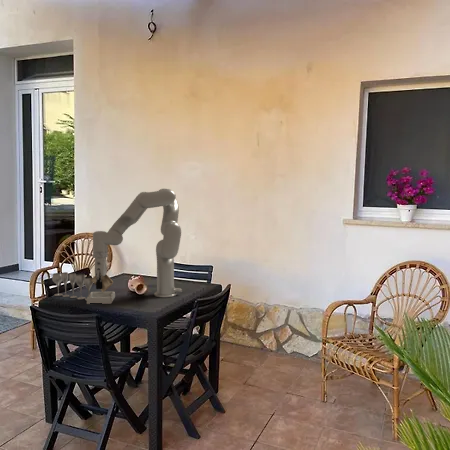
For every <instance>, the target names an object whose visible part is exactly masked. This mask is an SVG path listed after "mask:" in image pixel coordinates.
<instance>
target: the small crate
mask: <svg viewBox="0 0 450 450" xmlns="http://www.w3.org/2000/svg"><path fill="white" fill-rule="evenodd" d="M99 276H101V274H100V275H99ZM92 278H93V279H92V280H91V281H92V282H93V284H94V285H95V286H96V276H95V275H94V276H93V277H92ZM100 279H101V277H100ZM113 284H114V281H113V280H112V279H111V278H110V277H109V275H108V274H106V275H105V276H102V289H99V290H100V292H107V290H108V289H109V288H110V287H111V286H112V285H113Z"/></svg>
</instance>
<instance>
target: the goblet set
mask: <svg viewBox="0 0 450 450" xmlns="http://www.w3.org/2000/svg"><path fill="white" fill-rule="evenodd" d="M51 279H52V282H53V283H54V284H56V286H57V293H55V294H54V296H55V297H60V296H62V297H63V298H68V297H69V298H70V299H75V298H76V299H77V300H84V301H87V296H86V297H85V296H83V295H82V294H83V293H80V296H79V297H78V296H77V295H75V293H74V288H75V284H76V285H77V286H78V287H79V290H80V292H82V288H83V286H85V288H86V289H87V292H88V293H87V294H88V295H89V294H90V291H91V288H92V286H93V284H94V283H93V282H92V281H91V280H92V279H93V277H92V276H87V277H86V274H85V273H78V274H76V272H70V273H68V272H66V271H65V272H54V273H52V277H51ZM68 281H69V282H70V284H71V288H72V295H71V296H70V294H67V284H68ZM61 283H63V285H64V289H65V290H64V291H65V292H64V293H65V294H63V293H59V292H60V290H59V288H60V284H61Z"/></svg>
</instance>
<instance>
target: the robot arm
mask: <svg viewBox="0 0 450 450" xmlns="http://www.w3.org/2000/svg"><path fill="white" fill-rule="evenodd" d="M158 207H162V208H163V211H162V214H163V215H162V219H161V225H160V233H161V235H162V236H163V237H162V239H160V240H159V241H158V242H157V243H156V246H155V255H156V291H155V292H153V293H154V294H153V295H154V297H157V298H172V297H175V296H177V293H182V292H183V289H182V288H180V287H175V260H174V258H176V257H177V255H178V253H179V249H180V244H181V239H182V227H181V226H180V224H178V221H179V211H180V210H179V204H178V201H177V198H176V192H175V191H174V190H172V189H170V188H161V189H158V190H156V191H141V192H140V193H138V194H137V195H136V197H135V198H134V199H133V200H132V202H131V203H130V204H129V206H128V207H127V208H126V209H125V211H124V212H123V213H122V214H121V215H120V216H119V217H118V218H117V220H116V221H115V222H114V223H113V225H111V227H110V228H109V229H108V231H104V230H96V231H94V232H92V258H94V276H96V285H95V289H96V290H100V289H102V276H105V275H108V274H107V273H108V266H107V264H108V263H107V258H108V250H109V249H108V246H119V245H121V244H122V242H123V240H124V237H123V235H124V234H125V232H126V231H127V230H128V229H129V228H130V227H131V226H133V225H134V224H136V223H138V222H139V220H140V219H141V217H142V216H143V215H144V213H145V212H146V211H147V210H148V209H153V208H158ZM100 274H101V276H99V275H100ZM100 277H101V279H100Z"/></svg>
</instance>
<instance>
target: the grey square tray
mask: <svg viewBox="0 0 450 450" xmlns="http://www.w3.org/2000/svg"><path fill="white" fill-rule="evenodd" d="M115 298H116V293H115V291H104V292H102V291H91V292H89V294H88V295H87V296H86V299H87V300H86V305H91V304H90V303H102V304H104V305H105V304H107V305H108V304H110V305H111V304H112V303H113V302H114V300H115ZM102 304H101V305H102Z"/></svg>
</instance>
